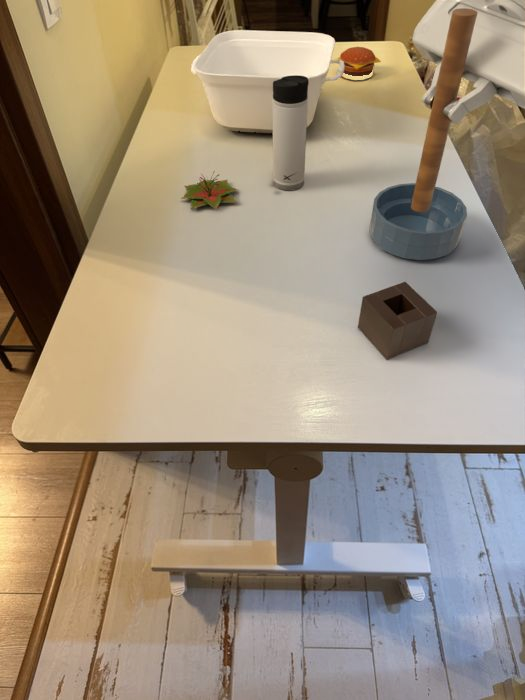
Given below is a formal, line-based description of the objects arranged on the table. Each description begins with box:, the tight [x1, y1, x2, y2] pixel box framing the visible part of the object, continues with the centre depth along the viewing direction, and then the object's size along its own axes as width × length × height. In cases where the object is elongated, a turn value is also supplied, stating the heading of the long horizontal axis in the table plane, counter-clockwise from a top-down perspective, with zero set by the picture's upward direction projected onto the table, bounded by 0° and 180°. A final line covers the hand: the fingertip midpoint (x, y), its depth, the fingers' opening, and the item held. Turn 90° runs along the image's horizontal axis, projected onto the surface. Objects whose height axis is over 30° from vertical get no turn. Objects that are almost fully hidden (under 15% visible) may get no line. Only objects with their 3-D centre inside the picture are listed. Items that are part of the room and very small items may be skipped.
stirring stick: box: [411, 8, 477, 212], centre depth 59 cm, size 2×2×22 cm
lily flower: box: [180, 170, 239, 211], centre depth 99 cm, size 12×12×5 cm
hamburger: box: [334, 46, 382, 76], centre depth 139 cm, size 9×10×7 cm
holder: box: [357, 281, 438, 361], centre depth 73 cm, size 7×7×6 cm
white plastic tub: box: [190, 29, 344, 135], centre depth 119 cm, size 34×29×15 cm
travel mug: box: [272, 75, 309, 191], centre depth 97 cm, size 6×7×20 cm
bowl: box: [368, 182, 468, 261], centre depth 89 cm, size 15×15×6 cm
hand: (437, 112), depth 58 cm, fingers closed on stirring stick, 2 cm apart
